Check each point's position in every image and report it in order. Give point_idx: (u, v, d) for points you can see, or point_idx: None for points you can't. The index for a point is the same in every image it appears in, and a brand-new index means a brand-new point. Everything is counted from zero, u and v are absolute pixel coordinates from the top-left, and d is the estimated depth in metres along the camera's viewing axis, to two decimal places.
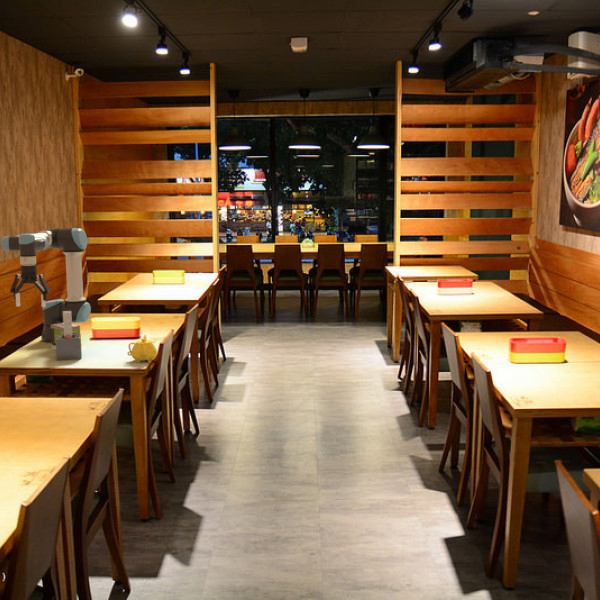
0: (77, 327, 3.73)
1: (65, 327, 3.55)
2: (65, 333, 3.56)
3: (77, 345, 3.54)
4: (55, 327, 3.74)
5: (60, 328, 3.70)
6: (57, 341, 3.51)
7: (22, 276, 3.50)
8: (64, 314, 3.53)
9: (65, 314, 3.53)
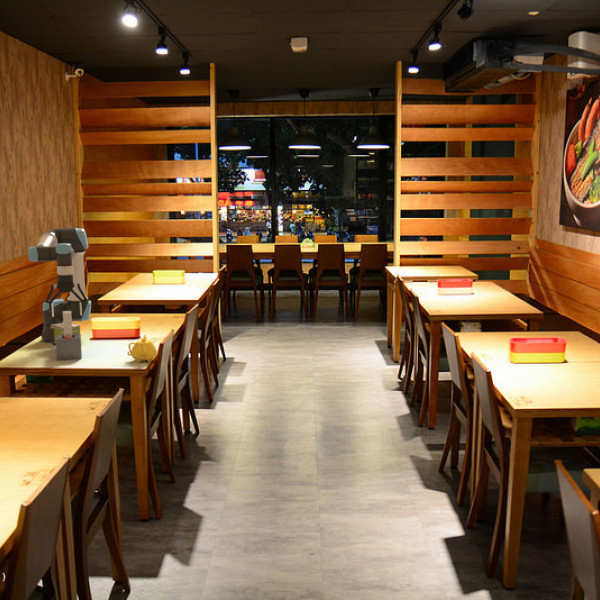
0: (77, 327, 3.73)
1: (65, 327, 3.55)
2: (65, 333, 3.56)
3: (77, 345, 3.54)
4: (55, 327, 3.74)
5: (60, 328, 3.70)
6: (57, 341, 3.51)
7: (59, 286, 3.52)
8: (64, 314, 3.53)
9: (65, 314, 3.53)
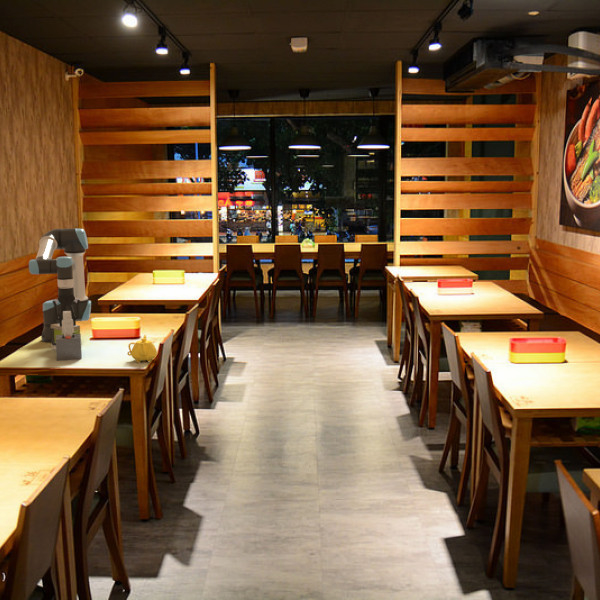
0: (77, 327, 3.73)
1: (65, 327, 3.55)
2: (65, 333, 3.56)
3: (77, 345, 3.54)
4: (55, 327, 3.74)
5: (60, 328, 3.70)
6: (57, 341, 3.51)
7: (60, 299, 3.53)
8: (64, 314, 3.53)
9: (65, 314, 3.53)
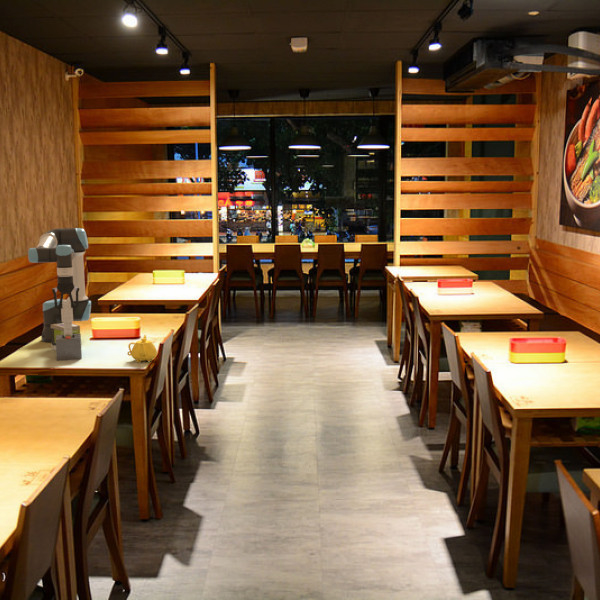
0: (77, 327, 3.73)
1: (64, 316, 3.54)
2: (64, 322, 3.55)
3: (77, 345, 3.54)
4: (55, 327, 3.74)
5: (60, 328, 3.70)
6: (57, 341, 3.51)
7: (59, 287, 3.52)
8: (63, 302, 3.52)
9: (64, 303, 3.53)
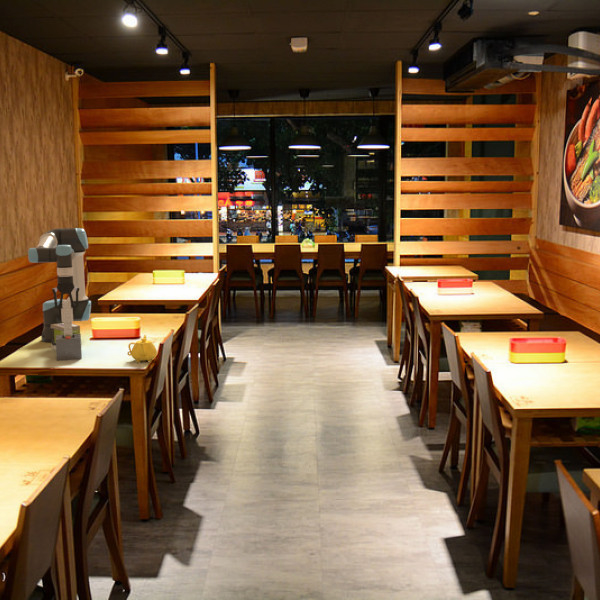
0: (77, 327, 3.73)
1: (64, 315, 3.54)
2: (64, 322, 3.55)
3: (77, 345, 3.54)
4: (55, 327, 3.74)
5: (60, 328, 3.70)
6: (57, 341, 3.51)
7: (59, 287, 3.52)
8: (63, 302, 3.52)
9: (64, 303, 3.53)
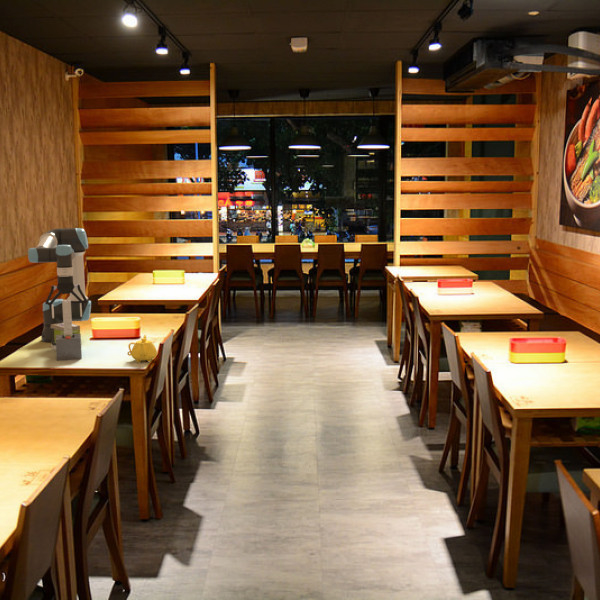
0: (77, 327, 3.73)
1: (64, 315, 3.54)
2: (64, 322, 3.55)
3: (77, 345, 3.54)
4: (55, 327, 3.74)
5: (60, 328, 3.70)
6: (57, 341, 3.51)
7: (59, 287, 3.52)
8: (63, 302, 3.52)
9: (64, 303, 3.53)
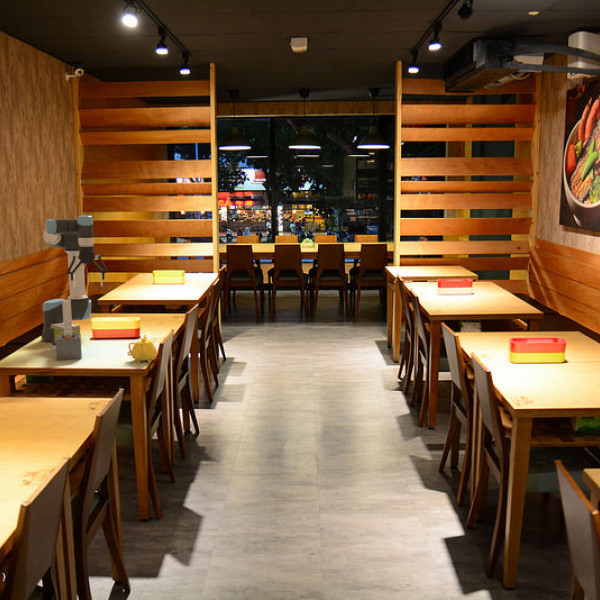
0: (77, 327, 3.73)
1: (64, 315, 3.54)
2: (64, 322, 3.55)
3: (77, 345, 3.54)
4: (55, 327, 3.74)
5: (60, 328, 3.70)
6: (57, 341, 3.51)
7: (80, 257, 3.60)
8: (63, 302, 3.52)
9: (64, 303, 3.53)
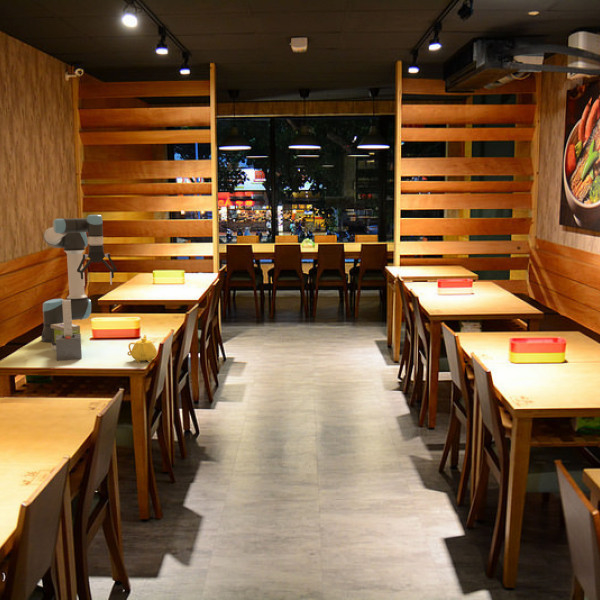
0: (77, 327, 3.73)
1: (64, 315, 3.54)
2: (64, 322, 3.55)
3: (77, 345, 3.54)
4: (55, 327, 3.74)
5: (60, 328, 3.70)
6: (57, 341, 3.51)
7: (90, 256, 3.64)
8: (63, 302, 3.52)
9: (64, 303, 3.53)
